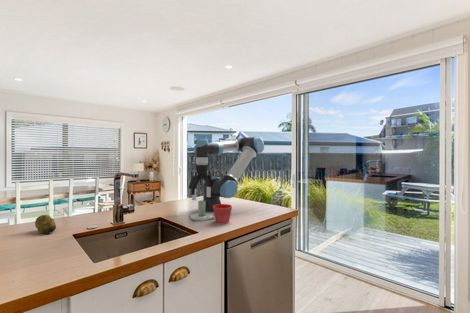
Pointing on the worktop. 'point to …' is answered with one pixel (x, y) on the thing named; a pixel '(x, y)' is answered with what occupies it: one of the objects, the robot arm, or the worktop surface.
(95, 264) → the worktop surface
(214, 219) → the mat
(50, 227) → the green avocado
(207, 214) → the lid
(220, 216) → the flower pot
